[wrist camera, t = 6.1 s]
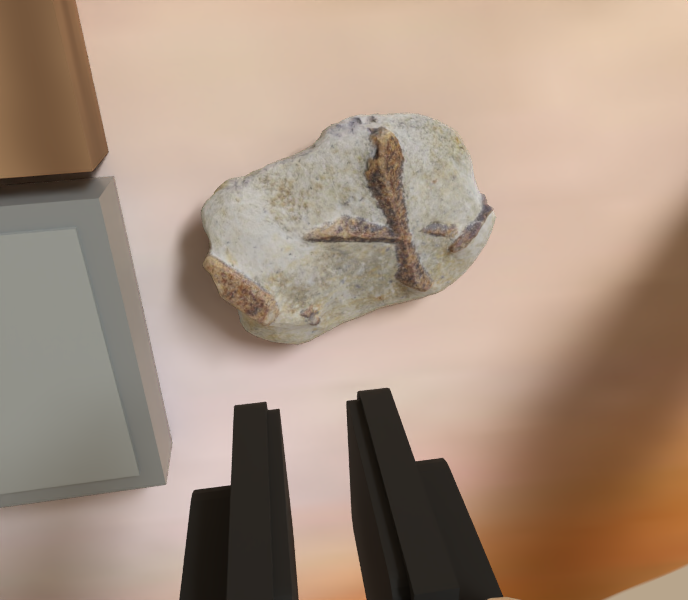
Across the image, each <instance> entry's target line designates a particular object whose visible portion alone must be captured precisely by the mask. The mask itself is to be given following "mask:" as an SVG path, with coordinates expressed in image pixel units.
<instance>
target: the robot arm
mask: <svg viewBox="0 0 688 600" xmlns="http://www.w3.org/2000/svg"><path fill="white" fill-rule="evenodd" d="M346 406H347V428H348V449H349V470H350V491H351V512H352V522H353V530H354V535H355V541H356V546H357V551H358V556H359V562H360V567H361V572H362V577H363V583H364V588H365V593H366V598H367V600H519V599H514V598H510V597H503V595H502V592H501V590H500V588H499V585H498V583H497V580H496V578H495V576H494V573H493V571H492V568H491V566H490V564H489V561H488V559H487V556H486V554H485V552H484V549H483V547H482V544H481V542H480V540H479V537H478V535H477V532H476V530H475V528H474V525H473V523H472V521H471V518H470V516H469V513H468V511H467V509H466V506H465V504H464V501H463V499H462V497H461V494H460V492H459V489H458V487H457V485H456V482H455V480H454V477H453V475H452V473H451V470H450V468H449V466H448V464H447V462H446V461H445V460H444V459H443V458H439V459H431V460H423V461H416V462H415V459H414V456H413V453H412V451H411V448H410V445H409V442H408V439H407V436H406V433H405V431H404V428H403V425H402V422H401V419H400V416H399V414H398V411H397V408H396V405H395V402H394V399H393V396H392V394H391V391H390V389H389V388H382V389H373V390H364V391H358V392H357V400H351V401H347V404H346ZM179 600H299V599H298V587H297V574H296V561H295V549H294V536H293V526H292V516H291V507H290V498H289V489H288V480H287V471H286V462H285V453H284V444H283V435H282V426H281V418H280V409H274V410H268V409H267V403H266V402H260V403H252V404H243V405H235V406H234V420H233V446H232V471H231V485H230V486H222V487H214V488H206V489H198V490H194V491H193V493H192V498H191V505H190V513H189V522H188V531H187V539H186V548H185V556H184V565H183V573H182V582H181V590H180V599H179Z"/></svg>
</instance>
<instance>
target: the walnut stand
mask: <svg viewBox="0 0 688 600" xmlns="http://www.w3.org/2000/svg"><path fill="white" fill-rule="evenodd" d="M107 153H108V147H107V142H106V138H105V133H104V129H103V124H102V120H101V115H100V111H99V106H98V101H97V97H96V92H95V88H94V83H93V79H92V74H91V69H90V65H89V60H88V56H87V51H86V47H85V42H84V38H83V33H82V28H81V24H80V19H79V15H78V10H77V6H76V1H75V0H0V178H13V177H26V176H39V175H51V174H64V173H77V172H90V171H93V170H94V169H95V168H96V167H97V165H98V164H99V163H100V162H101V160H102V159H103V158H104V157H105V156H106V154H107Z"/></svg>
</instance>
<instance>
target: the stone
mask: <svg viewBox="0 0 688 600" xmlns="http://www.w3.org/2000/svg"><path fill="white" fill-rule="evenodd" d="M495 218H496V217H495V213H494V211H493V208H492V207H490V206H489V205H488V204H487V200H486V197H485V195H484V194H482V193H480V191H479V190H478V188H477V184H476V181H475V177H474V173H473V165H472V161H471V157H470V154H469V153H468V151H467V149H466V147H465V146H464V144H463V141H462V138H461V137H460V135H459V134H458V133H457V132H456V131H455V130H453V129H452V128H450V127H448V126H447V125H445V124H443V123H441V122H440V121H438V120H436V119H433V118H430V117H427V116H423V115H420V114H413V113H395V114H386V115H380V114H373V115H356V116H352V117H349V118H347V119H344V120H342V121H340V122H339V123H337V124H331V126H329V127H327V128H326V129H325V130H324V131H322V133H321V136H320V138H319V139H318V140H317V141H316V142H315V143H314V144H313V145H312V146H310V147H309V148H307V149H305V150H303V151H301V152H299V153H297V154H295V155H293V156H290V157H287V158H284V159H281V160H279V161H276V162H274V163H271V164H269V165H267V166H265V167H264V168H262V169H259V170H256V171H253V172H251V173H250V174H248V175H246V176H244V177H238V178H231V179H228V180H227V181H225V182H224V183H223V184H222V185H220V186H219V187H218V188H217V189H216V191H215V192H214V194H213V195H212V196H211V197H210V198H209V199H208V200H207V201H206V203H205V204H204V206H203V208H202V210H201V219H202V224H203V227H204V230H205V232H206V233H207V235H208V238H209V240H210V243H209V252H208V254H207V256H206V258H205V261H204V263H203V268H204V269H205V270H206V271H207V272H208V273H209V274H210V275H211V276H212V279H213V281H214V282H215V284H216V287H217V290H218V293H219V295H220V297H222V298H223V299H224V300H225V301H227V302H228V303H229V304H231V305H232V306H234V307H235V308H237V310H238V314H239V317H240V322H241V324H242V325H243V327H244V329H245V330H246V331H248V332H249V333H251V334H252V335H254V336H256V337H259V338H262V339H265V340H268V341H271V342H277V343H285V344H302V343H305V342H309V341H311V340H313V339H314V338H316V337H318V336H320V335H322V334H324V333H326V332H327V331H329V330H331V329H333V328H335V327H336V326H338V325H340V324H342V323H344V322H347V321H349V320H352V319H355V318H358V317H360V316H363V315H365V314H367V313H370V312H372V311H374V310H376V309H379V308H382V307H386V306H390V305H394V304H399V303H403V302H407V301H410V300H416V299H420V298H423V297H426V296H429V295H433V294H436V293H438V292H440V291H442V290H444V289H445V288H446V287H448V286H449V285H451V284H452V283H453V282H455V281H456V280H457V279H458V278H459V277H460V276H461V275H463V274H464V273H465V272H466V271H467V269H468V268H469V267H470V266H471V265H472V264H473V262H474V261H475V260H476V258H477V257H478V255H479V254H480V252H481V250H482V249H483V248H484V246H485V245H486V243H487V241H488V239H489V236H490V234H491V231H492V228H493V225H494V222H495Z"/></svg>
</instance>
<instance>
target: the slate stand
mask: <svg viewBox="0 0 688 600" xmlns="http://www.w3.org/2000/svg"><path fill="white" fill-rule="evenodd" d="M171 449H172V439H171V434H170V430H169V425H168V421H167V416H166V411H165V407H164V402H163V398H162V393H161V389H160V384H159V380H158V375H157V370H156V366H155V361H154V357H153V352H152V348H151V343H150V339H149V334H148V329H147V325H146V320H145V316H144V311H143V307H142V302H141V297H140V293H139V288H138V284H137V279H136V275H135V270H134V266H133V261H132V256H131V252H130V247H129V243H128V238H127V234H126V229H125V225H124V220H123V215H122V211H121V206H120V202H119V197H118V193H117V188H116V183H115V179H114V176H112V177H100V178H87V179H74V180H62V181H49V182H36V183H24V184H11V185H0V508H1V507H9V506H16V505H23V504H30V503H38V502H45V501H52V500H59V499H66V498H74V497H81V496H88V495H95V494H103V493H110V492H117V491H124V490H131V489H139V488H146V487H153V486H160V485H166V482H167V476H168V469H169V462H170V456H171Z"/></svg>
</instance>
